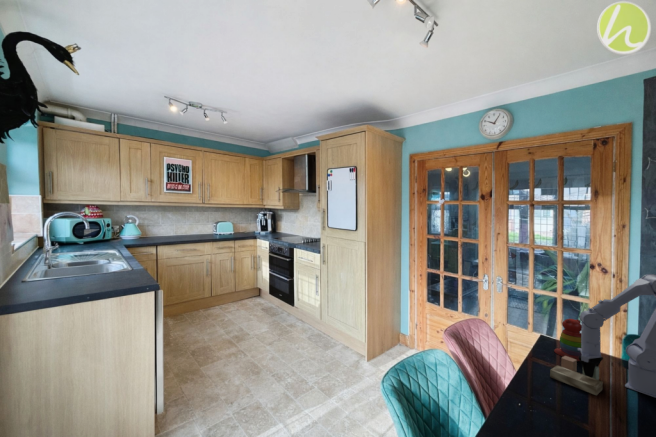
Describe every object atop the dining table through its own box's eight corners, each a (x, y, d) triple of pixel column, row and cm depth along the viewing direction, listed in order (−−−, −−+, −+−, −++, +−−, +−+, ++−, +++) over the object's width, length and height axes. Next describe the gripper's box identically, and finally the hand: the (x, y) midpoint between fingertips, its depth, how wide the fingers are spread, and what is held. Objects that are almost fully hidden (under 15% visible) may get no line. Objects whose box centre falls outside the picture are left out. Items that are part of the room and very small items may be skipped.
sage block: (599, 379, 112) (598, 366, 112) (595, 382, 110) (595, 369, 110) (585, 374, 115) (585, 362, 115) (582, 377, 113) (582, 365, 113)
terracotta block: (576, 371, 118) (576, 359, 118) (573, 373, 116) (573, 362, 116) (564, 367, 121) (564, 355, 121) (561, 369, 119) (561, 357, 119)
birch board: (602, 389, 105) (602, 381, 105) (596, 395, 101) (596, 387, 101) (557, 372, 117) (557, 364, 117) (550, 377, 113) (550, 369, 113)
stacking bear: (575, 352, 135) (575, 315, 135) (593, 362, 125) (593, 323, 125) (552, 350, 136) (552, 314, 136) (567, 361, 126) (567, 322, 126)
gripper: (584, 334, 120) (584, 365, 120) (571, 341, 112) (571, 375, 112) (606, 340, 114) (606, 373, 114) (594, 348, 106) (594, 383, 106)
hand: (590, 374), depth 112 cm, fingers closed on sage block, 4 cm apart
